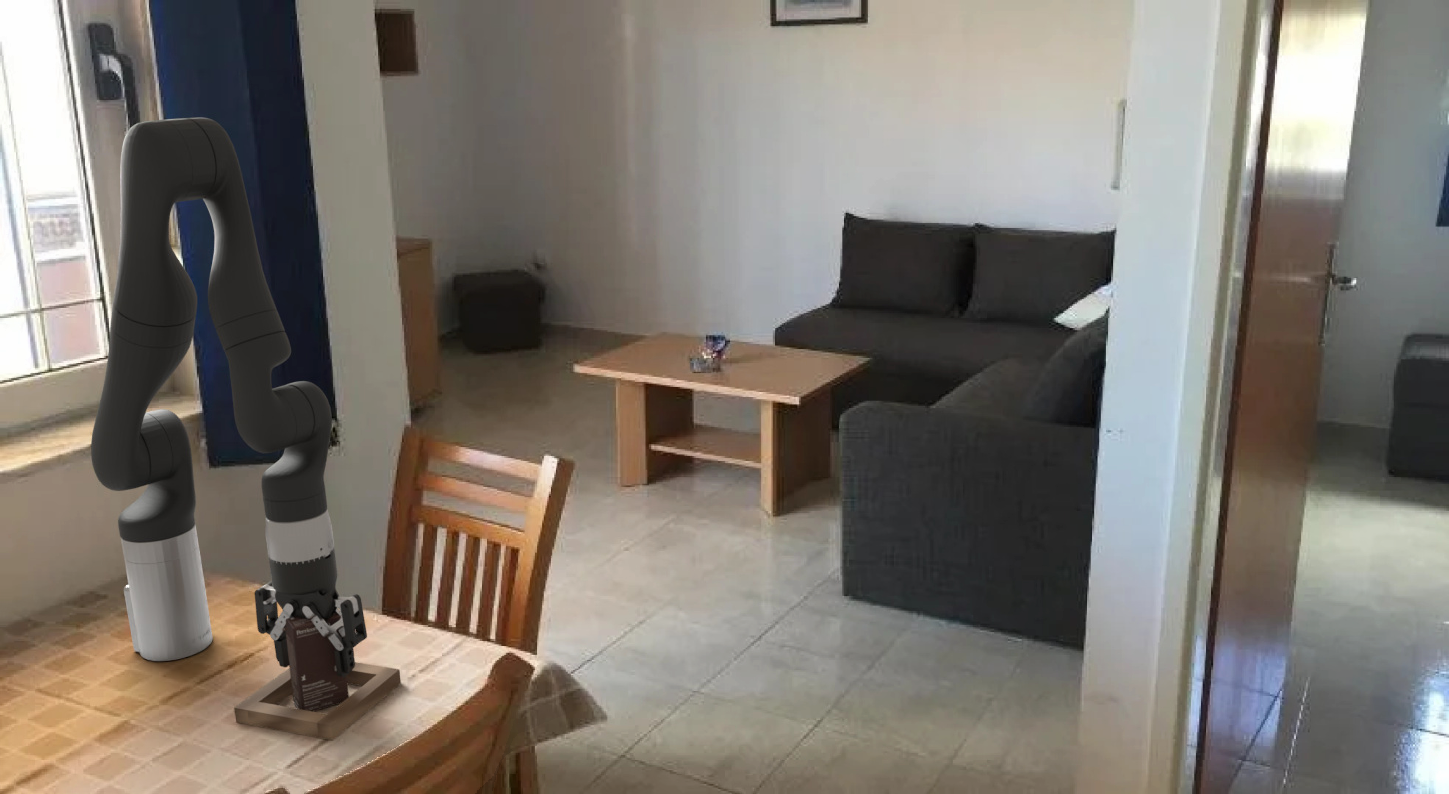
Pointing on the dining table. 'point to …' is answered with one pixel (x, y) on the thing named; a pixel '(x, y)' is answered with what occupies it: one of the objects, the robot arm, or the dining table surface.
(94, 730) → the dining table surface
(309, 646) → the box
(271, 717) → the socket
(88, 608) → the dining table surface
